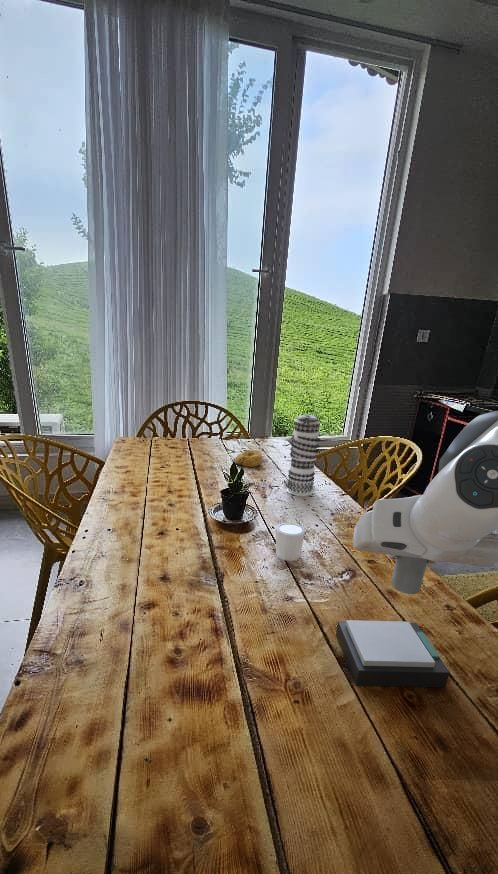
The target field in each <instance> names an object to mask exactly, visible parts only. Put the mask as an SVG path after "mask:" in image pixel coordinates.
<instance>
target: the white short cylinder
mask: <svg viewBox="0 0 498 874" xmlns="http://www.w3.org/2000/svg"><path fill="white" fill-rule="evenodd" d="M305 535H306V529H305V528H304V527H303V526H302V525H301V524H297V523H293V522H292V523H291V522H282V523H280V524H277V525H276V526H275V555H276V557H277V558H278V559H280V560H283V561H285V562H287V561H288V562H294V561H298V560H299V559H300V556H301V551H302V549H303V544H304V538H305Z"/></svg>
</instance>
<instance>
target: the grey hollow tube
mask: <svg viewBox="0 0 498 874" xmlns="http://www.w3.org/2000/svg"><path fill="white" fill-rule="evenodd" d="M427 560H428V559H421V558H413V557H405V556H400V557H399V558H398V559H395V564H394V568H393V572H392V578H391V582H390V585H391V587H393V588H392V589H394V590H396V591H398V592H400V593H402V594H405V595H406V594H407V595H416V594H418V593H419V592H420V591H421V588H422V584H423V581H424V576H425V571H426V568H427V564H428V563H427Z"/></svg>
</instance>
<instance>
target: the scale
mask: <svg viewBox="0 0 498 874" xmlns="http://www.w3.org/2000/svg"><path fill="white" fill-rule="evenodd" d="M335 637H336V639H337V642H338V644H339V646H340V650H341V651H342V654H343V657H344V659H345V662H346V665H347V667H348V669H349V672H350V674H351V677H352V679H353V682H354V685H355V686H356V687H395V688H396V687H403V688H404V687H405V688H446V687H447V683H448V680H449V677H450V675H451V672H450V670H449V669H448V667H447V666H446V664H445V663H444V661H443V660H442V658H441V657H440V654H439V653H438V652H437V650H436V649H435V647H434V646H433V643H431V641H430V640H429V638H428V637H427V636H426V634H425V633H424V632H423V631H422V629H421V628H420V626H419V625H418V623H417V622H409V621H401V620H400V621H399V620H397V621H396V620H359V619H357V620H355V619H346V620H338V621H337V626H336V631H335Z"/></svg>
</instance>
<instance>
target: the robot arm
mask: <svg viewBox="0 0 498 874" xmlns="http://www.w3.org/2000/svg"><path fill="white" fill-rule="evenodd" d="M352 547H353V549H354V550H356V551H358V552H367V553H374V554H382V555H387V559H390V560H396V559H398V558H399V557H400V556H405V557H413V558H421V559H428V560H427V564H430V565H437V564H439V563H454V564H460V565H461V564H462V565H468V566H469V565H470V566H476V567H477V566H478V567H491V566H495V565H496V564H497V563H498V410H494V411H490V412H487V413H482V414H479V415H477V416H476V417H474V418H473V419H472V420H471V421H470V422H468V424H466V425H465V426H464V427H463V429H462V430H461V431H460V432H459V433H458V434H457V436H456V437H455V438H454V439H453V441H452V442H451V443H450V445H449V446H448V448H447V449H446V451H445V452H444V453H443V454H442V456H441V457H440V459H439V463H438V472H437V474H436V475H435V476H434V478H432V480H431V481H430V482H429V484H427V486H426V488H425V490H424V491H423V494H419V495H413V496H409V497H402V498H401V497H399V498H383V499H382V498H381V499H377V500H375V501H374V502H373V507H372V510H369V511H367V512H365V513H363V514H362V516H361V517H360V518H359V519H358V521H357V522H356V524H355V526H354V529H353V536H352Z"/></svg>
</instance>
